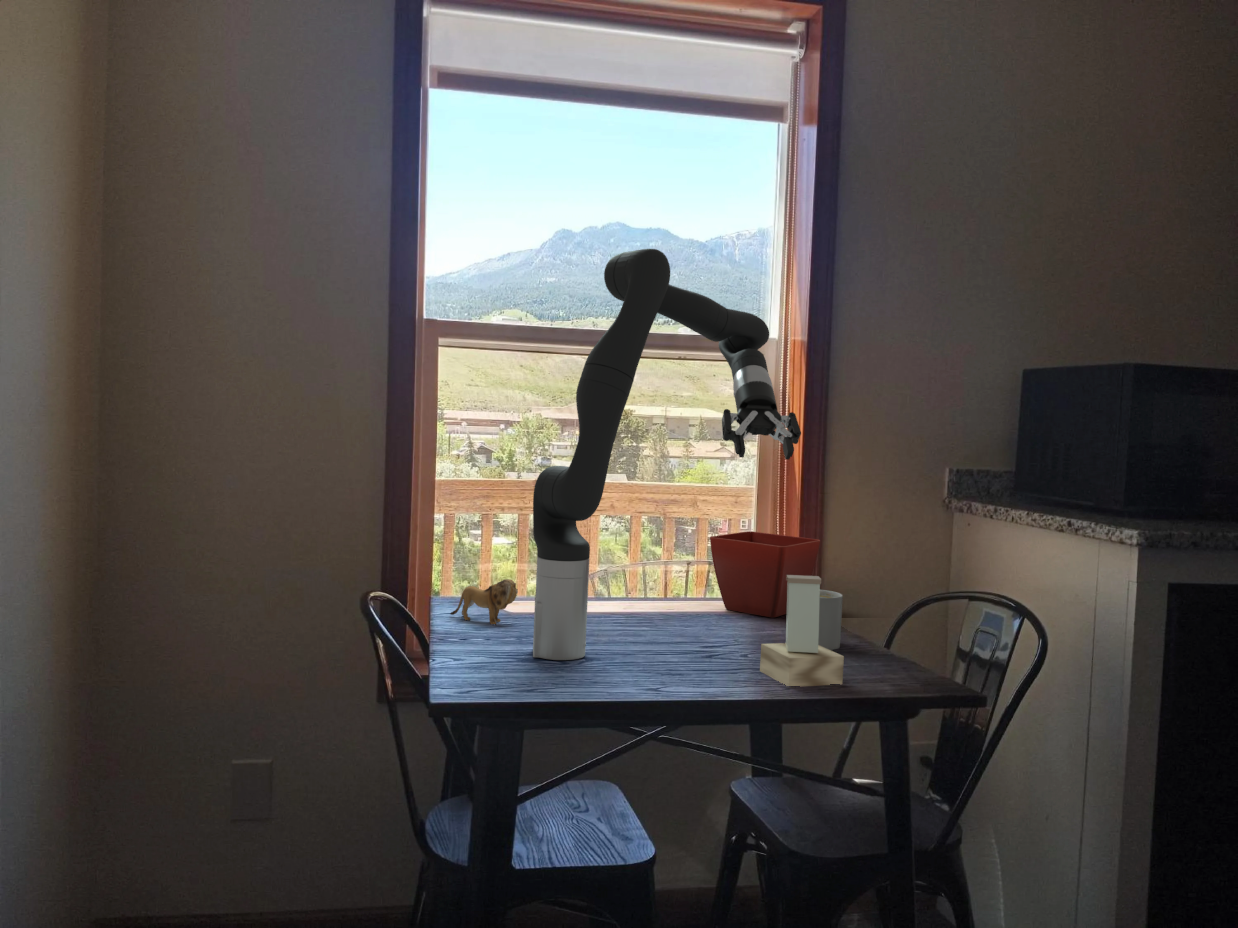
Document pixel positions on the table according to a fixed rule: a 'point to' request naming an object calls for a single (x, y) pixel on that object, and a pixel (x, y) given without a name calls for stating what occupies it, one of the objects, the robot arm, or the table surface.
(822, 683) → the maple block
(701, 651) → the table surface
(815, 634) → the sage canister
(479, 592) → the lion figurine
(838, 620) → the coffee mug
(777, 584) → the plant pot
